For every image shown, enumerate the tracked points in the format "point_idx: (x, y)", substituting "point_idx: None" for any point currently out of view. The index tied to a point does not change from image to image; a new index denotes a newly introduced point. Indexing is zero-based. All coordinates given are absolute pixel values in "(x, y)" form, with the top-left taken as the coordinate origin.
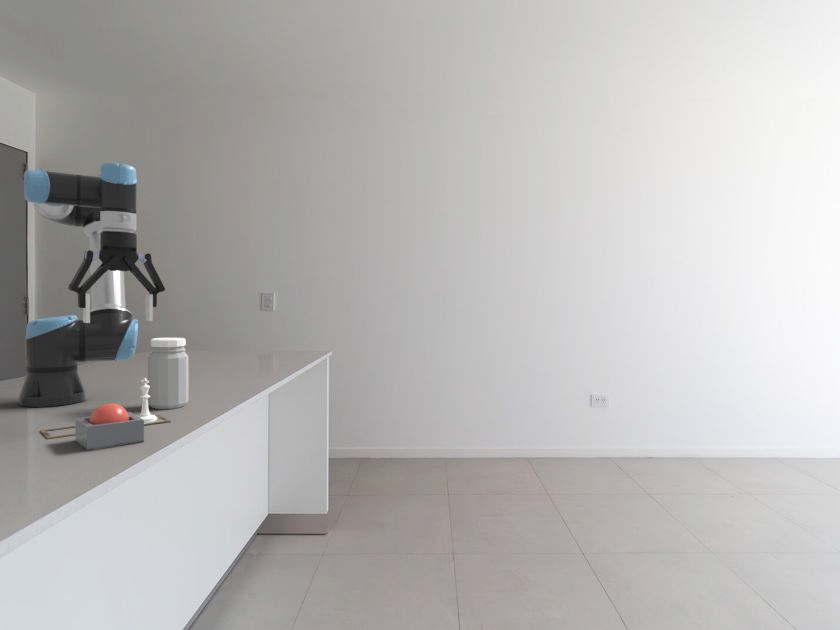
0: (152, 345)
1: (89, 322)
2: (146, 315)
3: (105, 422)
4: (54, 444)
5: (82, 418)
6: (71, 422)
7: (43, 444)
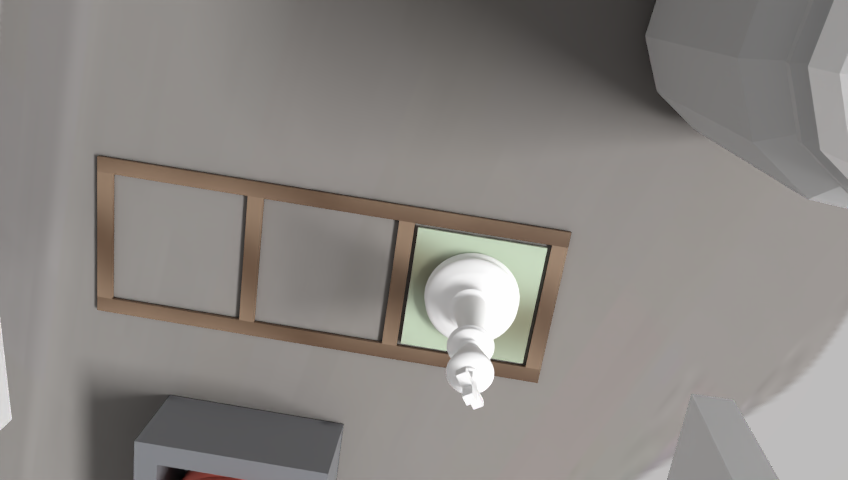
0: (820, 48)
1: (3, 423)
2: (701, 465)
3: None
4: (105, 394)
5: (153, 461)
6: (237, 70)
7: (77, 369)
